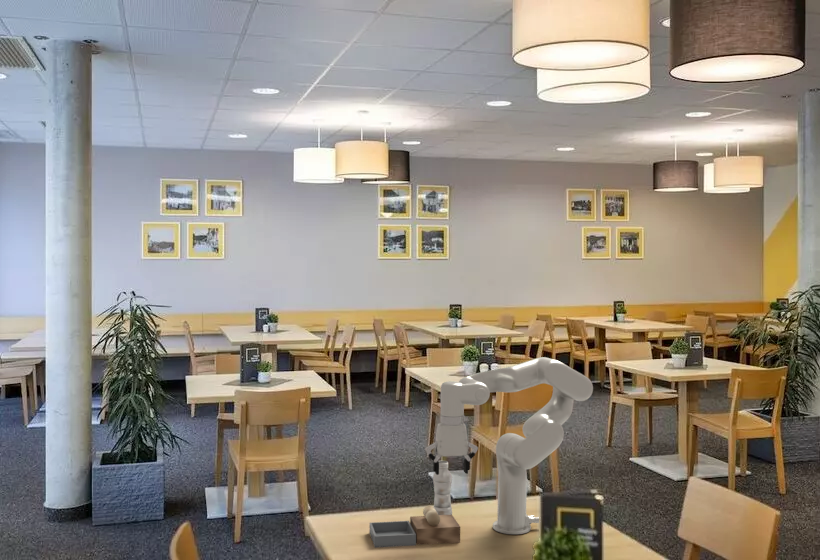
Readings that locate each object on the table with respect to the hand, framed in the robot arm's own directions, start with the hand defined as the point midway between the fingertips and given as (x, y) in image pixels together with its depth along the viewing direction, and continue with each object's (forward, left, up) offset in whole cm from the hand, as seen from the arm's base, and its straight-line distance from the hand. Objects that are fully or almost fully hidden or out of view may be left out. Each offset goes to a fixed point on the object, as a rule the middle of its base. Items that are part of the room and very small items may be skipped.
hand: (451, 473), depth 264 cm
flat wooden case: (+5, 0, -21) cm, 21 cm away
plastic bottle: (-1, -16, -21) cm, 26 cm away
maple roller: (+6, 0, -16) cm, 17 cm away
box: (+19, 0, -21) cm, 28 cm away
